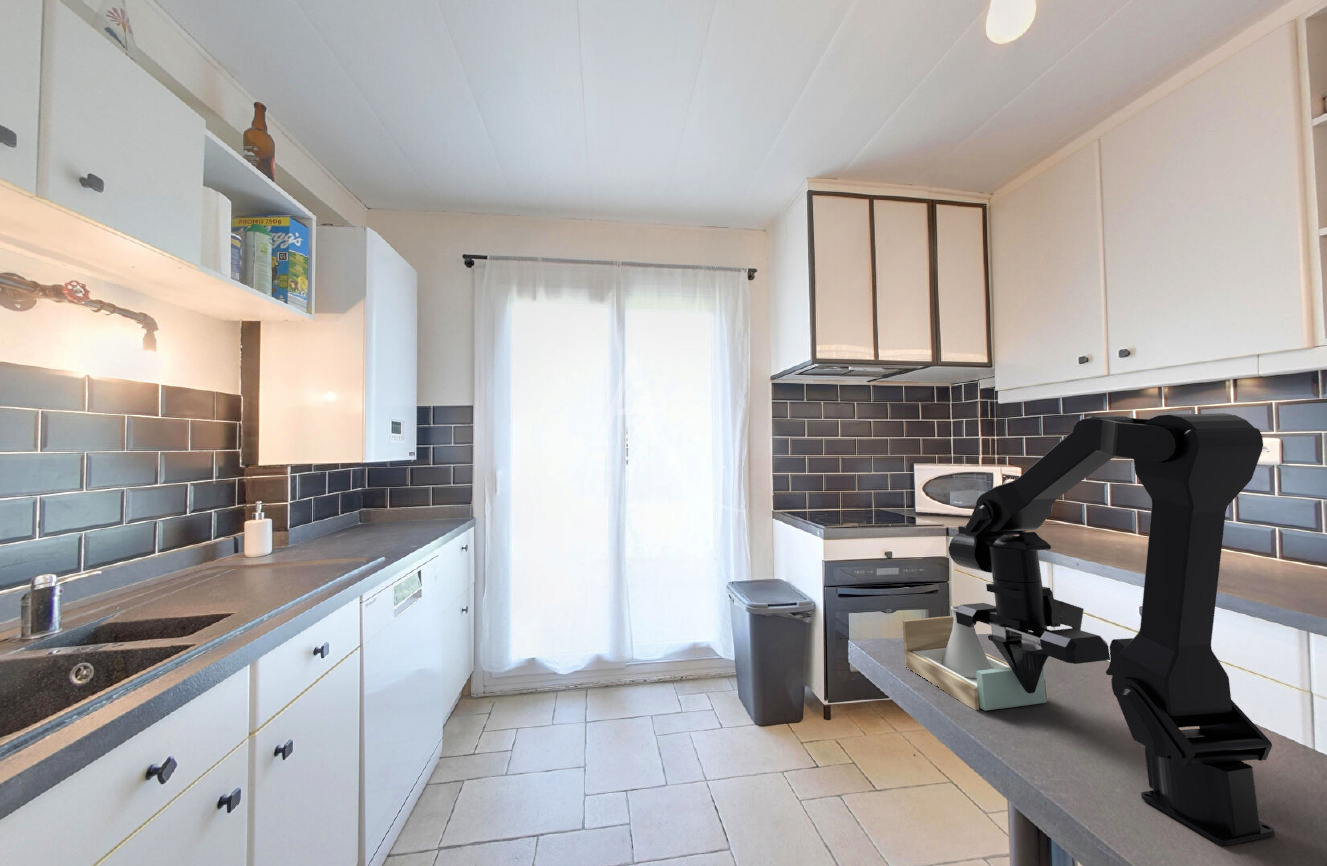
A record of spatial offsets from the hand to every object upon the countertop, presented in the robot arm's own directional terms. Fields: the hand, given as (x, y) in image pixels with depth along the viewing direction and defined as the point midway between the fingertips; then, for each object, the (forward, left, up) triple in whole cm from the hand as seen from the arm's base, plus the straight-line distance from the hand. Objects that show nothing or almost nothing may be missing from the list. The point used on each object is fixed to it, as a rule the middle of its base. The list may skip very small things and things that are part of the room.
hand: (1030, 692), depth 66 cm
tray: (+9, +1, -3) cm, 10 cm away
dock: (+9, +1, -3) cm, 10 cm away
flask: (+11, 0, -2) cm, 11 cm away
